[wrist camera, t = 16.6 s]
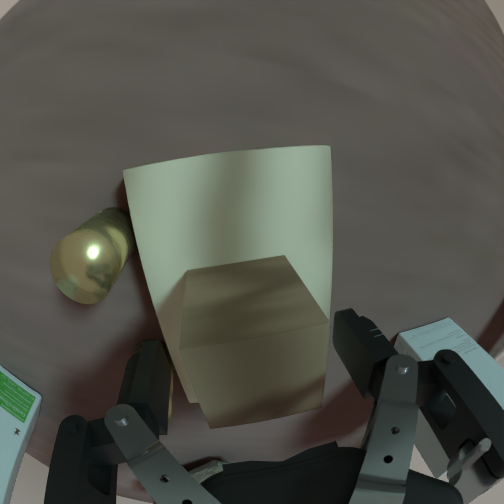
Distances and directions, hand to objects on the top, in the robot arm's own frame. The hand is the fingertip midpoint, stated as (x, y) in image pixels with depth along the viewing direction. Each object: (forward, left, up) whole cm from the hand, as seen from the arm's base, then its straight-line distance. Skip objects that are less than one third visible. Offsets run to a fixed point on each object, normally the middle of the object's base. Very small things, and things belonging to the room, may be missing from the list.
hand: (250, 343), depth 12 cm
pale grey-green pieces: (0, 0, -6) cm, 6 cm away
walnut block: (0, 0, -3) cm, 3 cm away
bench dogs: (+7, 0, -5) cm, 8 cm away
